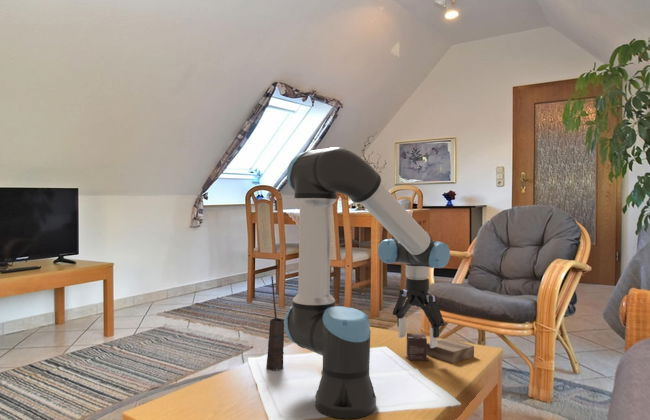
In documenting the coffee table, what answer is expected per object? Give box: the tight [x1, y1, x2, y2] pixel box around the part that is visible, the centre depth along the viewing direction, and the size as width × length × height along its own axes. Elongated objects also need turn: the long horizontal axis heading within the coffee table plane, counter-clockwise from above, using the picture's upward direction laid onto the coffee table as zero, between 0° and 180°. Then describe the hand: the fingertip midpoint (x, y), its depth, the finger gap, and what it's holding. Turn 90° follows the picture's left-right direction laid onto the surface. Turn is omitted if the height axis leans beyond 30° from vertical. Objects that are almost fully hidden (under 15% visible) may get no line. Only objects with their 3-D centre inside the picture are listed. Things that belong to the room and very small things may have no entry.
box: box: [406, 332, 428, 362], centre depth 150 cm, size 6×6×7 cm
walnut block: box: [427, 337, 475, 364], centre depth 152 cm, size 11×11×4 cm
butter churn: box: [265, 275, 285, 371], centre depth 138 cm, size 9×10×28 cm
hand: (417, 341), depth 150 cm, fingers open, 13 cm apart
